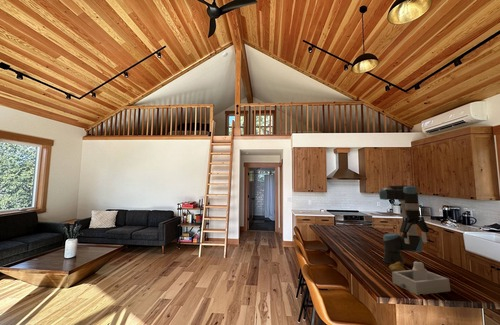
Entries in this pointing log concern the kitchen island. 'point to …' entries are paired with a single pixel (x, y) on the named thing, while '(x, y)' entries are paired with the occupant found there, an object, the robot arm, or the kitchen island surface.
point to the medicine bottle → (419, 271)
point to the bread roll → (396, 267)
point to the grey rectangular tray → (421, 282)
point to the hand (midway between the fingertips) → (416, 242)
